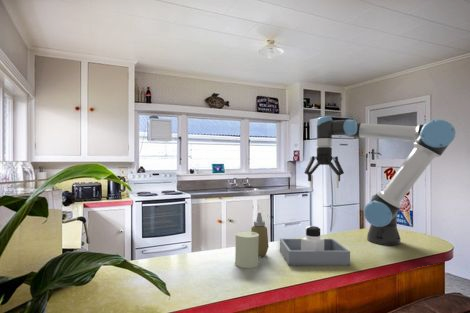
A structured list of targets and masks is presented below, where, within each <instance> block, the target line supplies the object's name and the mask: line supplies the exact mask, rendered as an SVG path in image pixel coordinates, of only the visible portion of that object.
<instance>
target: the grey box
mask: <svg viewBox="0 0 470 313" xmlns="http://www.w3.org/2000/svg"><path fill="white" fill-rule="evenodd" d="M301 239H302V238H279V252H280V255H282V257H283V259H284V261H285V262H286V264H287V265H288V266H289V267H290V266H292V267H293V266H295V267H297V266H299V267H300V266H302V267H303V266H309V267H310V266H313V267H316V266H317V267H319V266H320V267H325V266H326V267H327V266H332V267H333V266H334V267H336V266H338V267H339V266H340V267H343V266H345V267H347V266H349V267H350V266H351V251H350V250H349V249H347V248H346V247H345V246H344V245H342V244H341V243H339V242H338V241H337V240H336V239H334V238H323V239H324V251H301Z"/></svg>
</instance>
